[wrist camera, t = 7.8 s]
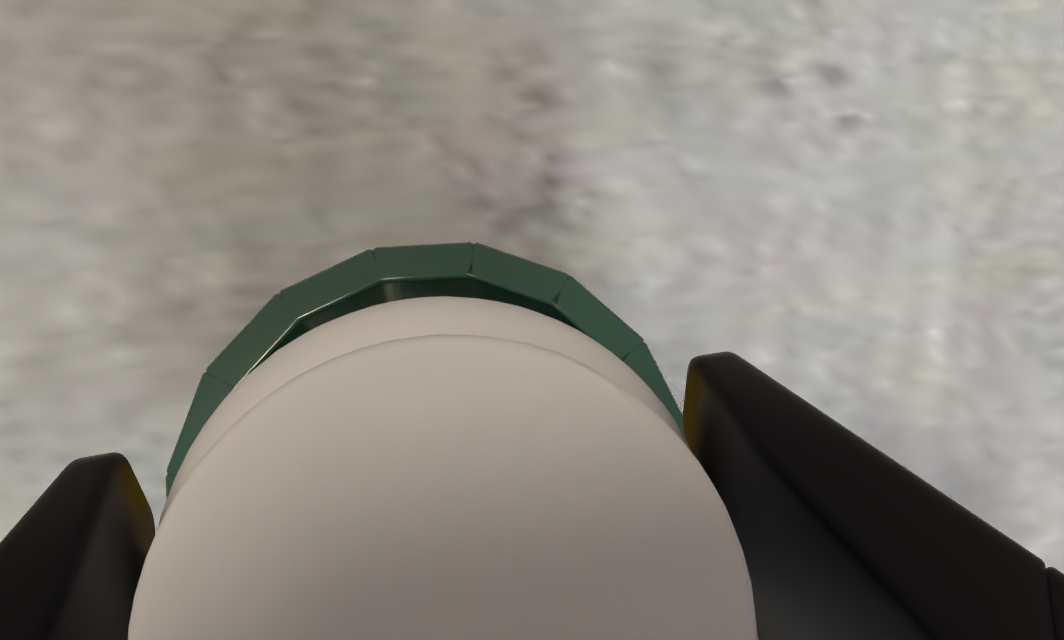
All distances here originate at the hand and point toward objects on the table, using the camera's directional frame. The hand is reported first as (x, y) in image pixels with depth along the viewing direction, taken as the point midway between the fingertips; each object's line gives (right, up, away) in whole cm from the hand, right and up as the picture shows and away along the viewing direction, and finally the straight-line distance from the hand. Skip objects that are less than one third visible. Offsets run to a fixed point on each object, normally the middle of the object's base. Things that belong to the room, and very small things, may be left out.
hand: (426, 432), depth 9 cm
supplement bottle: (-1, -2, +7) cm, 7 cm away
